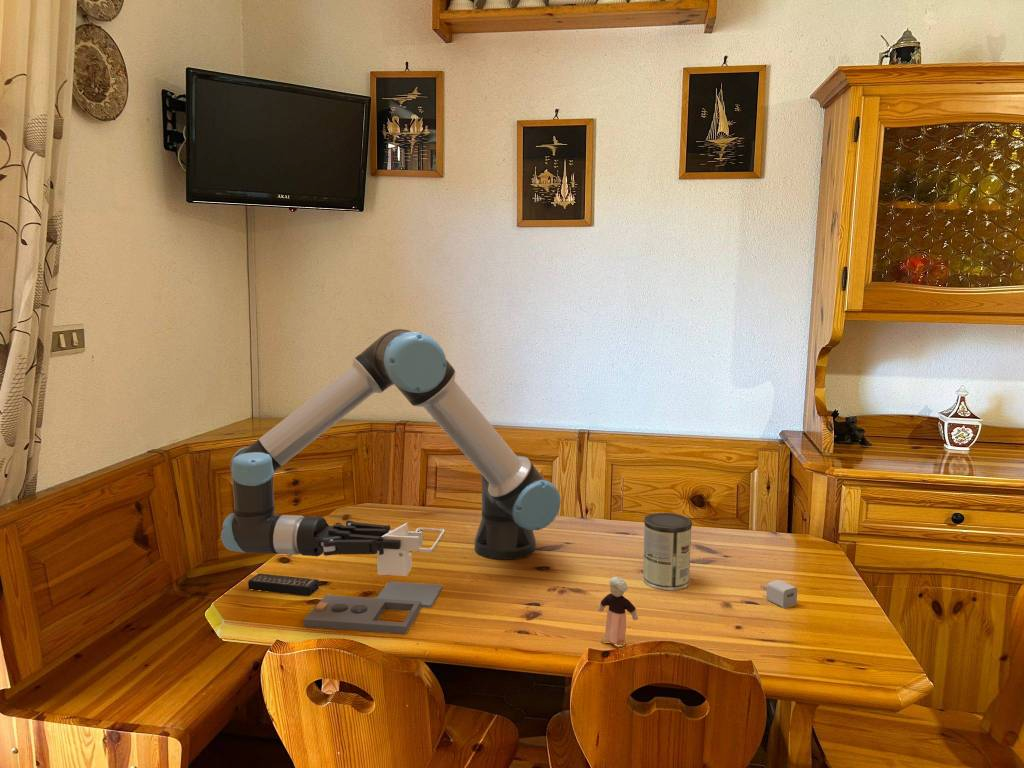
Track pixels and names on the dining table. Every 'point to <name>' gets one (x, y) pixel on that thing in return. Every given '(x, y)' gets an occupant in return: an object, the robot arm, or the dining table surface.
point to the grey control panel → (360, 614)
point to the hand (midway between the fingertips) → (420, 541)
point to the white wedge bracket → (395, 557)
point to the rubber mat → (411, 592)
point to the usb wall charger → (781, 593)
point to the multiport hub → (283, 584)
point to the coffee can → (667, 551)
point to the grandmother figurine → (617, 612)
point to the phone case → (435, 542)
